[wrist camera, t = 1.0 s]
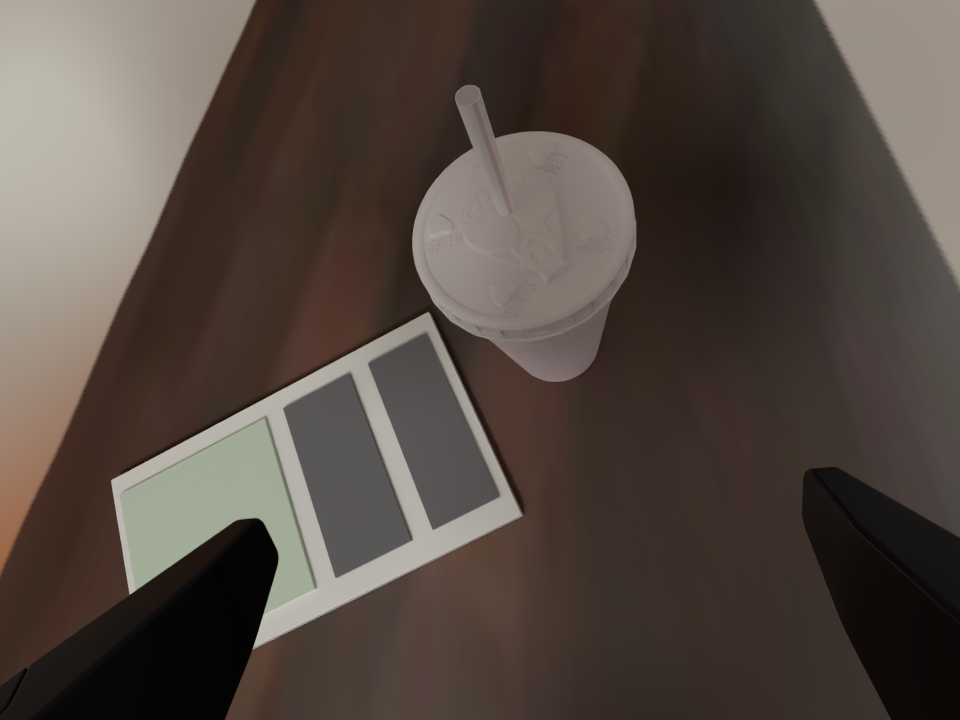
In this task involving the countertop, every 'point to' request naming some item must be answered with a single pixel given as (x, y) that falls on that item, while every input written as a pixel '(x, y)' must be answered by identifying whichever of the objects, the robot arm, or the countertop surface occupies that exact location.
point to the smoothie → (526, 243)
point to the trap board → (329, 479)
